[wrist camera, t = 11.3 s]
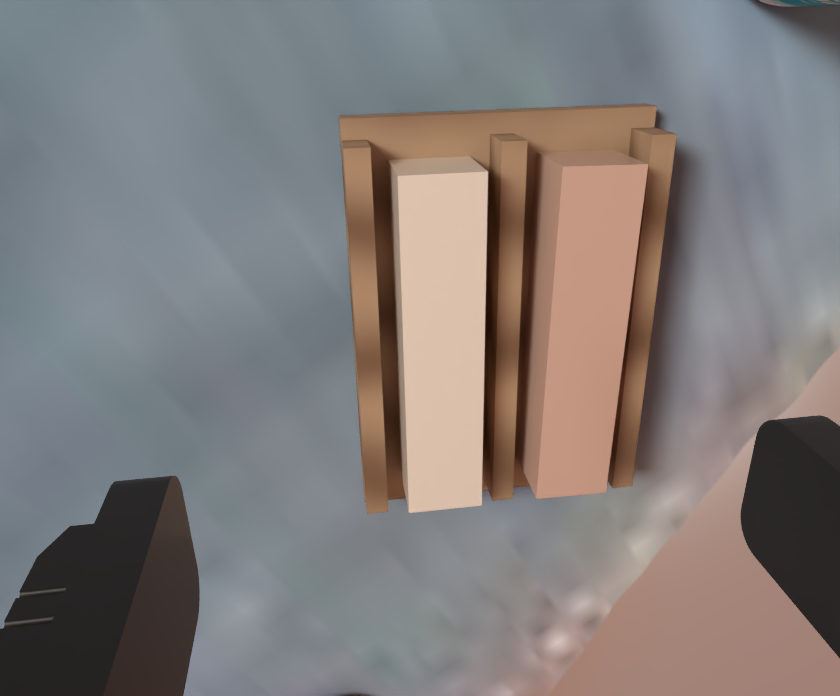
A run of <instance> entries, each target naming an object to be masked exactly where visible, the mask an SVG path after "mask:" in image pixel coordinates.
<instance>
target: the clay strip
mask: <svg viewBox="0 0 840 696" xmlns="http://www.w3.org/2000/svg"><path fill="white" fill-rule="evenodd" d="M647 171H648V164H647V163H644V162H642V161H640V160H637V159H635V158H632V157H630V156H627V155H625V154H623V153H620V152H618V151H615V150H596V151H559V152H537V160H536V175H535V191H534V206H533V222H532V237H531V253H530V268H529V284H528V299H527V315H526V330H525V346H524V361H523V377H522V392H521V408H520V423H519V439H518V454H517V459H518V461H519V463H520V465H521V468H522V470H523V472H524V474H525V476H526V478H527V480H528V482H529V484H530V486H531V489H532V491H533V493H534V495H535V497H536V499H539V498H550V497H561V496H572V495H583V494H594V493H605V492H606V487H607V480H608V472H609V464H610V457H611V449H612V441H613V433H614V426H615V418H616V410H617V403H618V395H619V387H620V379H621V372H622V364H623V356H624V348H625V341H626V333H627V325H628V318H629V310H630V302H631V294H632V287H633V279H634V271H635V264H636V256H637V248H638V240H639V233H640V225H641V217H642V210H643V202H644V194H645V186H646V179H647Z"/></svg>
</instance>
